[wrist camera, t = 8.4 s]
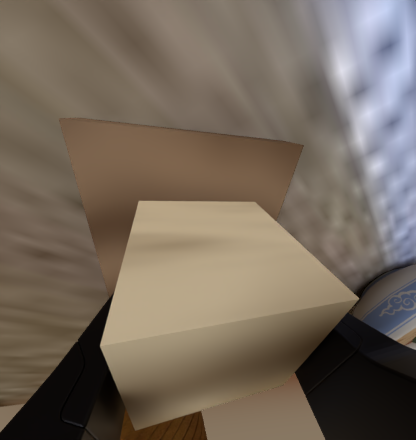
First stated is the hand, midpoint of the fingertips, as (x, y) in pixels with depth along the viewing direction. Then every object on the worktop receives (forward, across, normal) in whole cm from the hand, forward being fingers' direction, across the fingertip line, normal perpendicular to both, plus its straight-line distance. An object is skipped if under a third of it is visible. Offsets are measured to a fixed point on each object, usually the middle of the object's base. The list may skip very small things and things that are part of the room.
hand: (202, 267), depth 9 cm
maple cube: (+2, 0, 0) cm, 2 cm away
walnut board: (+5, 0, 0) cm, 5 cm away
